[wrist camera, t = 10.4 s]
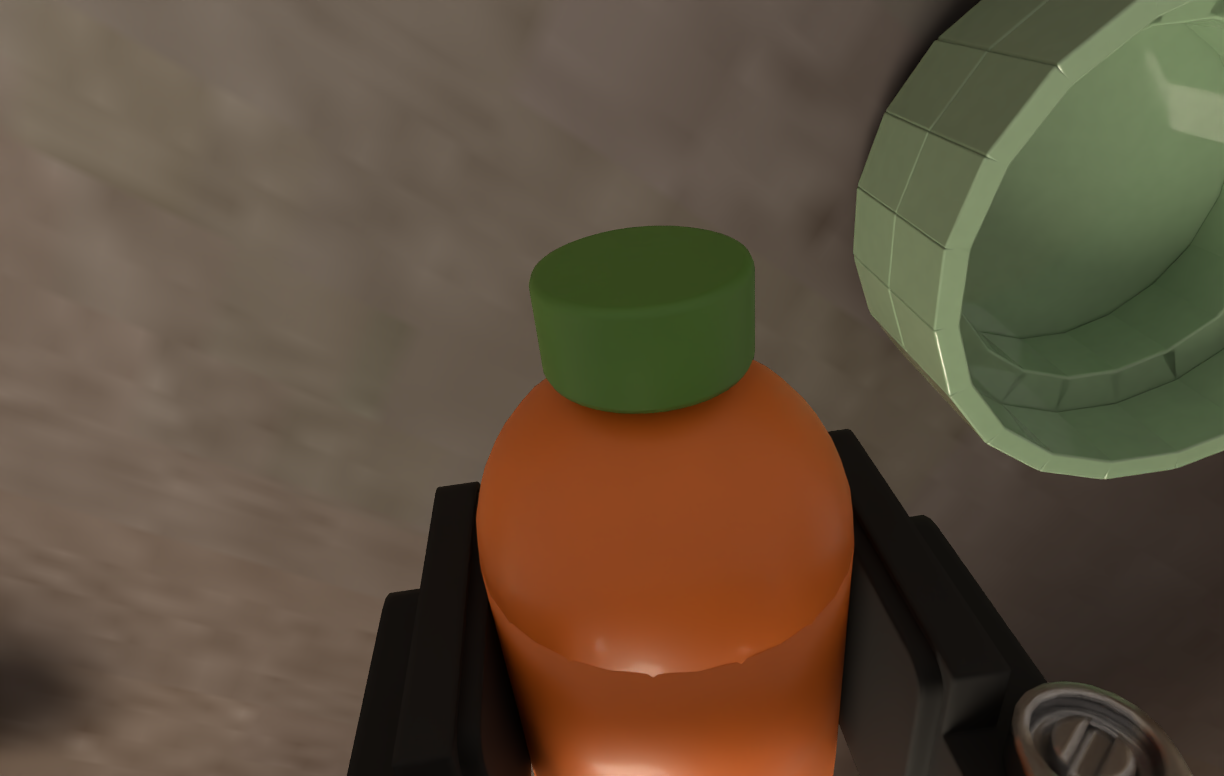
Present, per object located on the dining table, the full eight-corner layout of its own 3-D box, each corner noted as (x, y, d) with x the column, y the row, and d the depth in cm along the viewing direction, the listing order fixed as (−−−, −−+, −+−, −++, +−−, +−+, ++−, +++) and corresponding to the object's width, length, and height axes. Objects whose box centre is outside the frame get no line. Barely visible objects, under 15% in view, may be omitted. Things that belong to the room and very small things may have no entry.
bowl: (1202, 347, 24) (1364, 442, 20) (835, 399, 24) (910, 509, 19) (1351, -96, 18) (1639, -111, 14) (860, -35, 18) (980, -29, 13)
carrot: (437, 219, 8) (374, 414, 5) (792, 173, 8) (975, 330, 5) (572, 815, 14) (587, 1088, 11) (778, 783, 15) (856, 1042, 11)
